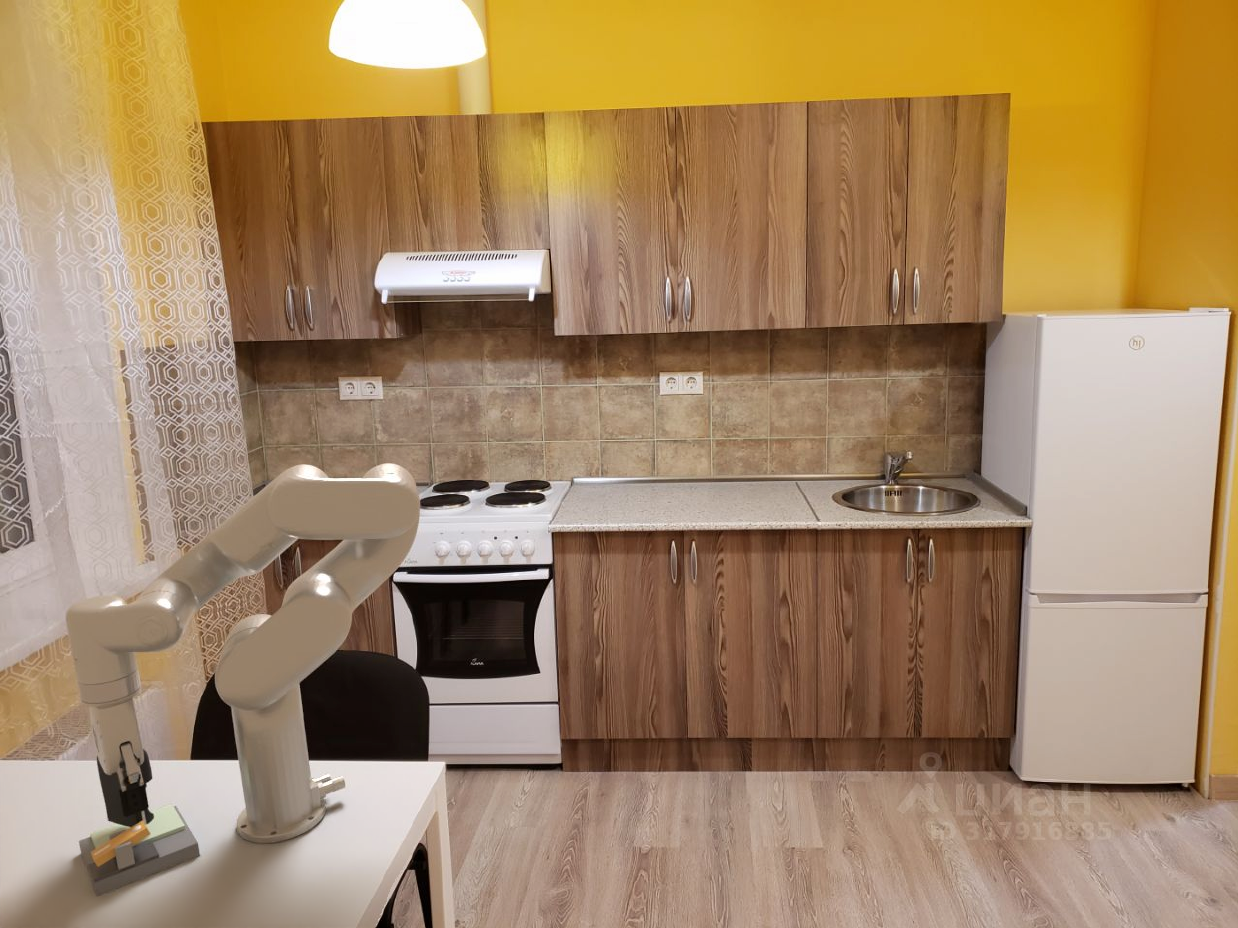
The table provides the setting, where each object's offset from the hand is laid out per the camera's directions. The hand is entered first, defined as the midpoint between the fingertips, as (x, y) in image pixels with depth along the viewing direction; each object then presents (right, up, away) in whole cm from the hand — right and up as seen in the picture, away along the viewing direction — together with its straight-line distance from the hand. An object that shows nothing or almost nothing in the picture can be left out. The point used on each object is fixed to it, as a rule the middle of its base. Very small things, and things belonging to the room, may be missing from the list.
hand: (130, 799), depth 133 cm
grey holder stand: (+2, -8, 0) cm, 8 cm away
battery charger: (0, -3, +1) cm, 4 cm away
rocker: (+2, -4, -6) cm, 7 cm away
